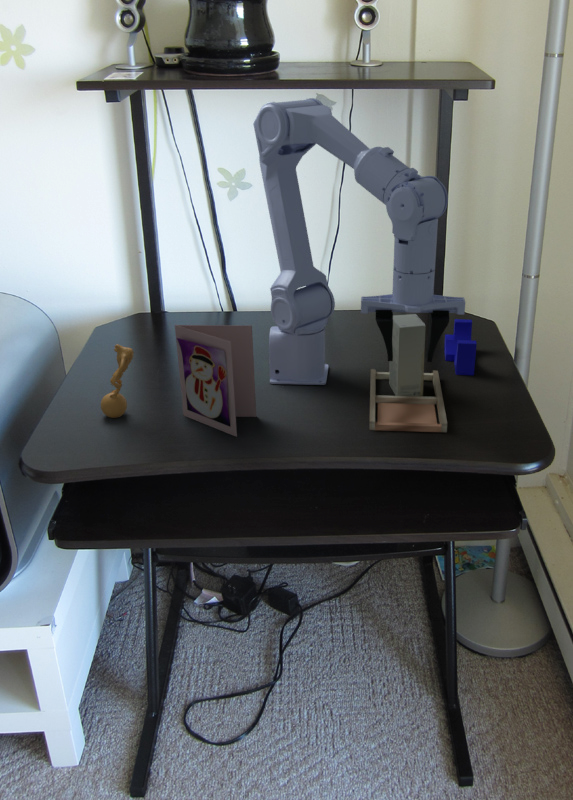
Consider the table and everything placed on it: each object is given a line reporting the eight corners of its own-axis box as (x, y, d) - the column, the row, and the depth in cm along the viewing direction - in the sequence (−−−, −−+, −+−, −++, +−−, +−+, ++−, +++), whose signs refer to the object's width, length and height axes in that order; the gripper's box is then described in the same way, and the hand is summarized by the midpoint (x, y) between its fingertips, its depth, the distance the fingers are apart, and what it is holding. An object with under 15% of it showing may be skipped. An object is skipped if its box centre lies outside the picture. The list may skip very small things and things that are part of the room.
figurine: (107, 405, 118) (97, 335, 113) (145, 403, 118) (136, 334, 113) (97, 429, 111) (85, 355, 106) (137, 428, 111) (127, 354, 106)
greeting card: (179, 418, 114) (170, 326, 107) (213, 401, 119) (206, 313, 112) (232, 439, 107) (226, 343, 100) (266, 421, 112) (262, 328, 105)
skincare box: (423, 397, 118) (427, 326, 113) (396, 399, 117) (399, 327, 112) (413, 381, 124) (416, 312, 118) (387, 383, 123) (389, 314, 118)
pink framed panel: (369, 430, 108) (369, 421, 108) (370, 377, 125) (370, 369, 125) (446, 432, 107) (447, 423, 106) (437, 378, 124) (437, 370, 124)
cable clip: (444, 349, 136) (446, 319, 134) (468, 350, 136) (471, 319, 133) (446, 375, 126) (449, 343, 123) (473, 376, 125) (476, 343, 123)
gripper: (361, 276, 99) (359, 368, 105) (470, 277, 98) (462, 370, 104) (362, 262, 106) (360, 350, 112) (464, 262, 104) (457, 351, 110)
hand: (409, 359), depth 108 cm, fingers open, 5 cm apart
